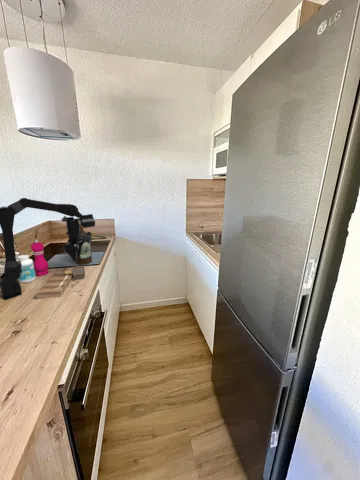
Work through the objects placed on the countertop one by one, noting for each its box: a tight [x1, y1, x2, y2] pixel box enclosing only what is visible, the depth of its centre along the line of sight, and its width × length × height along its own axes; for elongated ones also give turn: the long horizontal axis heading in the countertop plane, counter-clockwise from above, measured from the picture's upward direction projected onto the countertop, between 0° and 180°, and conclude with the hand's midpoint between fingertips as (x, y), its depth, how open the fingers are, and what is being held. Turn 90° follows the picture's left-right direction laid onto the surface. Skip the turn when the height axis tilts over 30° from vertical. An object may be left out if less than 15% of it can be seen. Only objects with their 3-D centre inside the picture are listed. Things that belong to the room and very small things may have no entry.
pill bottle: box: [16, 254, 37, 284], centre depth 108 cm, size 8×7×14 cm
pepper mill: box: [30, 239, 50, 277], centre depth 115 cm, size 7×7×20 cm
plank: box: [35, 271, 74, 300], centre depth 103 cm, size 23×10×3 cm, turn 12°
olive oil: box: [75, 224, 93, 266], centre depth 132 cm, size 11×11×25 cm
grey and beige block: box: [64, 265, 86, 281], centre depth 112 cm, size 4×9×6 cm, turn 104°
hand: (77, 258), depth 110 cm, fingers open, 9 cm apart
